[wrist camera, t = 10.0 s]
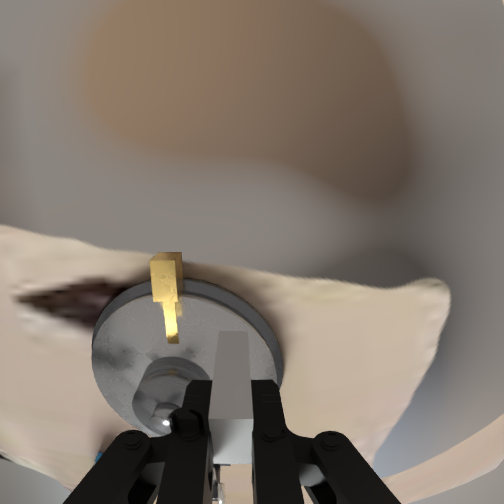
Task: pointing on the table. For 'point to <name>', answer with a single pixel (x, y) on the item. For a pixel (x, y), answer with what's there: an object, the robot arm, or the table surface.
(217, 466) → the dial post
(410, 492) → the table surface
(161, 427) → the cover
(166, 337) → the turntable
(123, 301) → the base
